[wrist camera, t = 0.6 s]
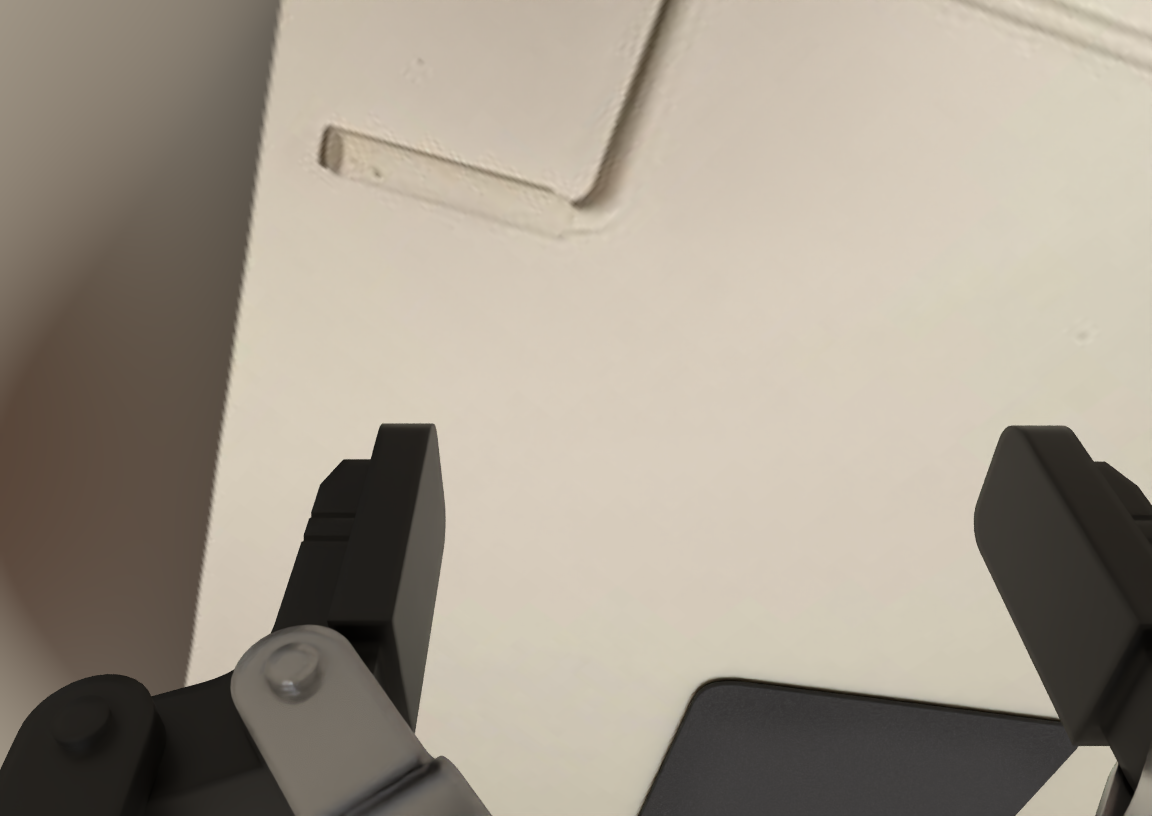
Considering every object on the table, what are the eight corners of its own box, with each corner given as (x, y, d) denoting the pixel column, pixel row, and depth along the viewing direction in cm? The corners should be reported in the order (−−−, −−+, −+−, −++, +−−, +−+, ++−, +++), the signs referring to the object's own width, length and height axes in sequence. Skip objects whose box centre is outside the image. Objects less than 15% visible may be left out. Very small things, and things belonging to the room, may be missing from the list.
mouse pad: (617, 861, 62) (617, 866, 62) (702, 676, 50) (703, 680, 50) (937, 894, 65) (939, 898, 65) (1092, 725, 53) (1094, 730, 53)
